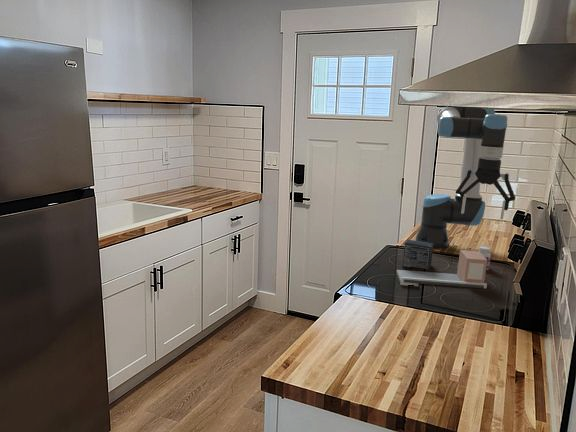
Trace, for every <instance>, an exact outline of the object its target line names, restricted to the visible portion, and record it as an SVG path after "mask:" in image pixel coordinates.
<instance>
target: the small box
mask: <svg viewBox="0 0 576 432" xmlns="http://www.w3.org/2000/svg"><path fill="white" fill-rule="evenodd" d="M433 250H434V247H433V243H427V242H421V241H415V239H414V240H413V239H407V240H406V241H405V242H404V249H403V258H402V259H403V260H402V267H401V268H404V269H409V270H412V268H418V269H424V270H430V268H431V266H432V261H433V260H432V258H433V252H434V251H433Z"/></svg>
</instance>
